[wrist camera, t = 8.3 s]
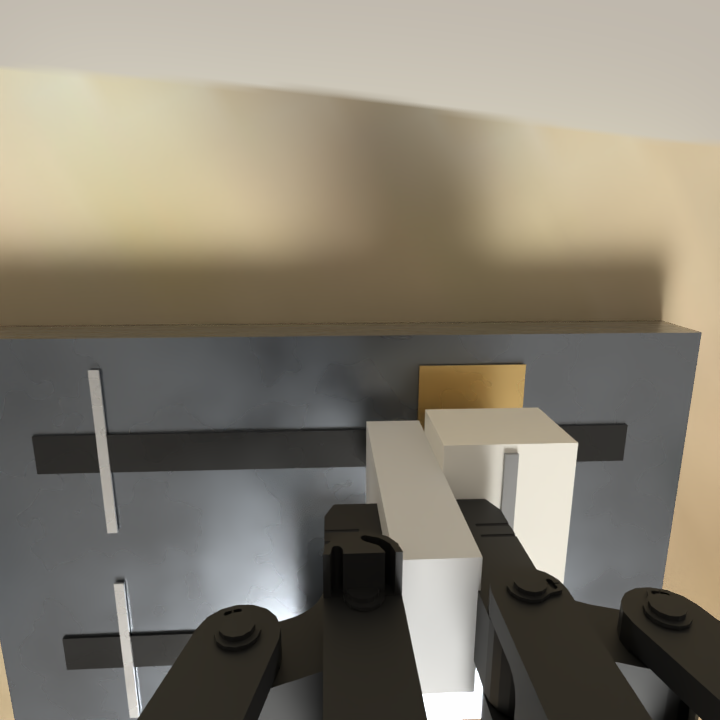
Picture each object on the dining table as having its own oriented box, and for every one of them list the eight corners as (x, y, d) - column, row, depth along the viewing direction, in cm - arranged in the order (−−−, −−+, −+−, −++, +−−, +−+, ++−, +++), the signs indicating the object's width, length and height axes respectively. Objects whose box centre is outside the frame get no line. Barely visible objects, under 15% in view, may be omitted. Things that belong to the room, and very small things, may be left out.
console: (47, 693, 21) (16, 745, 19) (-13, 326, 17) (-59, 340, 15) (615, 667, 22) (645, 713, 20) (663, 320, 19) (704, 333, 17)
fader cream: (410, 509, 17) (438, 606, 13) (413, 387, 16) (444, 447, 12) (504, 507, 18) (563, 601, 13) (513, 385, 17) (580, 444, 12)
